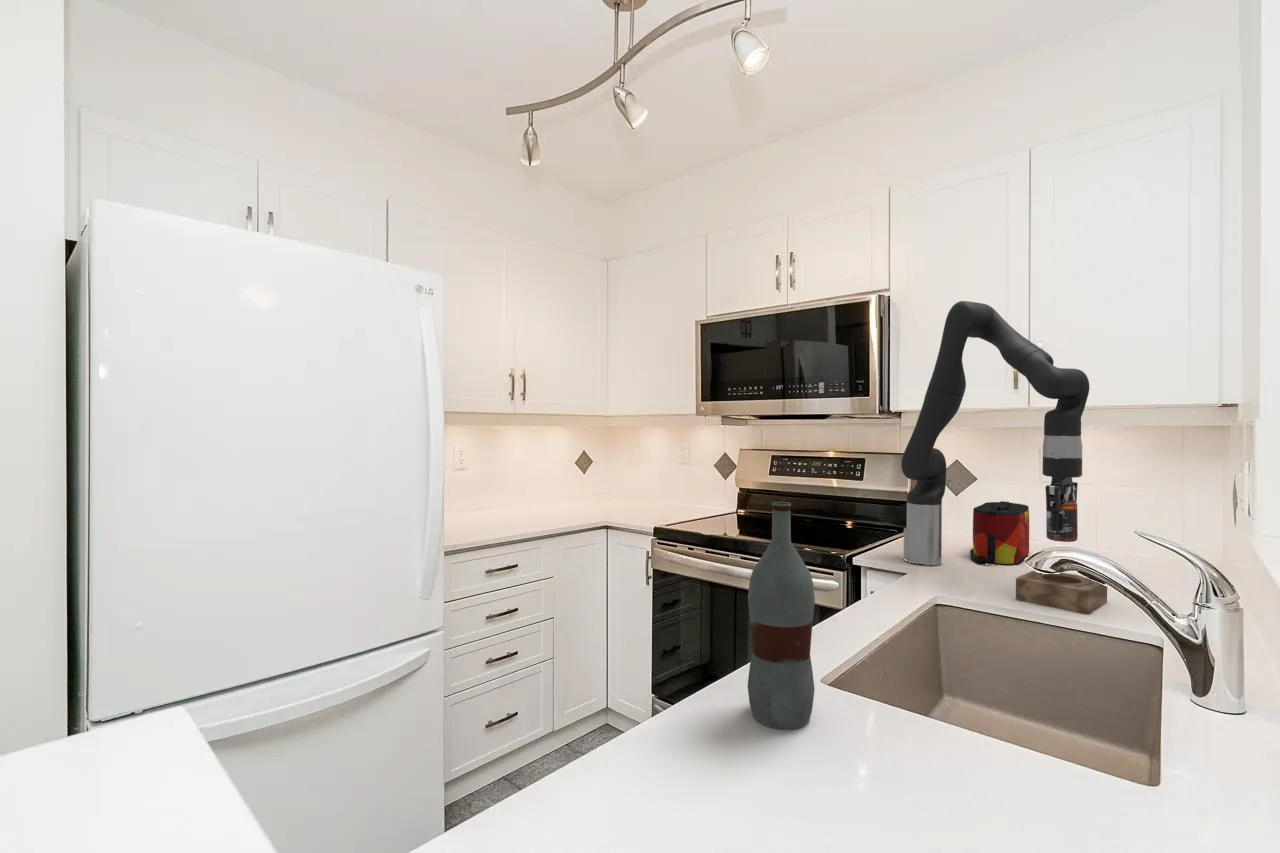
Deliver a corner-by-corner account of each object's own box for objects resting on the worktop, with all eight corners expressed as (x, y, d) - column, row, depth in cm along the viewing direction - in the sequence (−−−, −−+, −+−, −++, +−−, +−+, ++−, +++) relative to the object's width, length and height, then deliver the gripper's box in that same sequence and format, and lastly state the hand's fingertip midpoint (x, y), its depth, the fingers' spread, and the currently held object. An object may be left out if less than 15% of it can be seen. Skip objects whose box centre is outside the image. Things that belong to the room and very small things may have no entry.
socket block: (1015, 599, 143) (1015, 577, 143) (1037, 588, 152) (1037, 568, 152) (1088, 614, 132) (1088, 591, 132) (1107, 601, 141) (1107, 580, 141)
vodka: (771, 694, 94) (772, 497, 93) (827, 715, 87) (828, 503, 87) (734, 715, 87) (734, 503, 87) (791, 739, 81) (791, 510, 80)
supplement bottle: (1067, 537, 144) (1068, 489, 144) (1083, 542, 138) (1083, 492, 138) (1040, 537, 145) (1041, 489, 145) (1055, 542, 139) (1055, 492, 139)
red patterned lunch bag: (1014, 570, 170) (1015, 511, 170) (960, 562, 179) (960, 506, 179) (1034, 552, 193) (1034, 500, 193) (984, 546, 202) (985, 496, 202)
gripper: (1053, 453, 149) (1053, 523, 149) (1032, 456, 140) (1031, 530, 140) (1091, 455, 143) (1090, 527, 143) (1071, 457, 134) (1070, 535, 134)
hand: (1061, 528), depth 142 cm, fingers closed on supplement bottle, 6 cm apart
